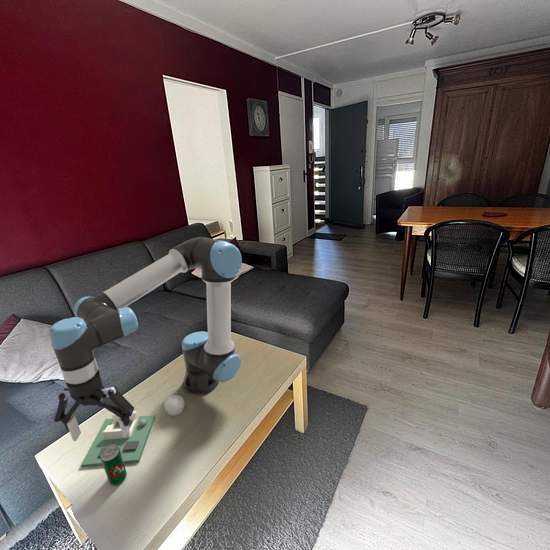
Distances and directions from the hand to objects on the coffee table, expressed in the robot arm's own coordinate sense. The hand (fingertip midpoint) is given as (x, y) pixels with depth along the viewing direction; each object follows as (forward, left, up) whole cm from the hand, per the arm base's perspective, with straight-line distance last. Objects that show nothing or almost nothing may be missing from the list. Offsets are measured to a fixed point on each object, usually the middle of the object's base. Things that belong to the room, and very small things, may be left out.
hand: (102, 435), depth 86 cm
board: (+4, -14, -19) cm, 24 cm away
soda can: (0, 0, -19) cm, 19 cm away
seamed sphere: (-11, -25, -19) cm, 33 cm away
